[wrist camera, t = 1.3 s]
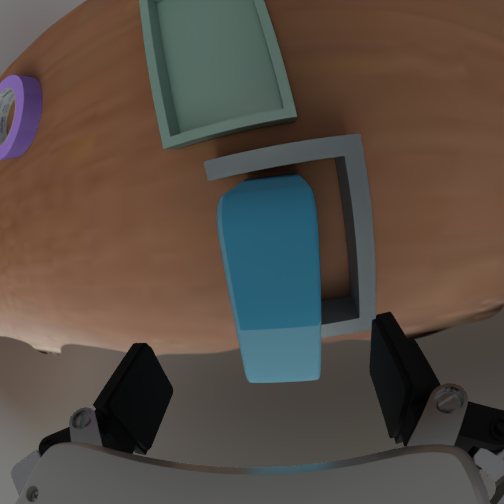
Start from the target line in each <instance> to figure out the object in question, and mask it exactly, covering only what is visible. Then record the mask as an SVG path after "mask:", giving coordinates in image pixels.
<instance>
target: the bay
mask: <svg viewBox="0 0 504 504" xmlns="http://www.w3.org/2000/svg"><path fill="white" fill-rule="evenodd" d="M333 157H335V162H336V168H337V174H338V180H339V186H340V193H341V200H342V207H343V215H344V223H345V232H346V241H347V251H348V263H349V276H350V293H351V296H348V297H342V298H336V299H330V300H324V301H321V338H326V337H332V336H338V335H344V334H349V333H354V332H360V331H365V330H370V329H372V320H373V319H376V268H375V246H374V231H373V219H372V208H371V199H370V191H369V183H368V176H367V169H366V163H365V156H364V151H363V145H362V140H361V135H360V134H350V135H341V136H333V137H325V138H318V139H311V140H305V141H298V142H292V143H286V144H281V145H275V146H270V147H265V148H260V149H255V150H250V151H246V152H241V153H237V154H232V155H228V156H224V157H220V158H216V159H212V160H208V161H204V166H205V170H206V174H207V179H208V181H211V180H215V179H219V178H224V177H228V176H233V175H237V174H242V173H247V172H251V171H256V170H261V169H266V168H272V167H277V166H283V165H288V164H294V163H300V162H306V161H312V160H319V159H326V158H333Z"/></svg>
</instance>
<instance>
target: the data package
mask: <svg viewBox="0 0 504 504" xmlns="http://www.w3.org/2000/svg"><path fill="white" fill-rule="evenodd" d="M217 228H218V235H219V241H220V247H221V252H222V258H223V264H224V269H225V275H226V280H227V285H228V291H229V296H230V301H231V306H232V311H233V316H234V321H235V326H236V331H237V336H238V341H239V346H240V351H241V355H242V360H243V365H244V369H245V374H246V377H247V379H248V381H249V382H251V383H269V382H270V383H271V382H293V381H308V380H317V379H318V378H319V377H320V370H321V369H320V368H321V277H320V252H319V234H318V220H317V211H316V204H315V198H314V194H313V191H312V189H311V187H310V186H309V185H308V184H307V183H306V181H305V180H304V179H303V178H302V177H301V176H300V175H299V174H288V175H278V176H269V177H260V178H252V179H246V180H244V181H243V182H241V183H240V184H238V185H237V186H235V187H234V188H232V189H231V190H230V191H228V192H227V193H225V194H224V195H222V196H221V198H220V199H219V202H218V207H217Z"/></svg>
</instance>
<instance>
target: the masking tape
mask: <svg viewBox="0 0 504 504" xmlns="http://www.w3.org/2000/svg"><path fill="white" fill-rule="evenodd" d="M14 99H15V113H14V118H13V122H12V126H11V129H10V131H9V134H7V118H8V113H9V110H10V107H11V105H12V103H13V101H14ZM41 112H42V90H41V86H40V84H39V82H38V80H37V79H36V78H34V77H29V76H21V75H10V76H8V77H7V78H5V79H4V80H3V81H2V82H1V83H0V160H4V159H10V158H16V157H19V156H21V155H23V154H24V153H25V152H26V151H27V149H28V148H29V146H30V145H31V143H32V141H33V139H34V137H35V134H36V132H37V129H38V126H39V122H40V117H41Z"/></svg>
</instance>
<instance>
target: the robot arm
mask: <svg viewBox="0 0 504 504" xmlns="http://www.w3.org/2000/svg"><path fill="white" fill-rule="evenodd" d="M370 375H371V378H372V381H373V384H374V387H375V390H376V393H377V396H378V400H379V403H380V406H381V410H382V413H383V416H384V419H385V423H386V426H387V430H388V434H389V437H390V438H395V442H396V444H398V443H401V442H403V444H404V446H405V447H404V448H398V449H393V450H388V451H384V452H379V453H374V454H370V455H364V456H359V457H355V458H349V459H343V460H337V461H330V462H323V463H316V464H308V465H297V466H285V467H257V468H256V467H255V468H253V467H252V468H251V467H248V468H247V467H244V468H243V467H218V466H204V465H194V464H186V463H178V462H171V461H165V460H159V459H153V458H148V457H143V456H139V455H134V454H132V453H133V451H134V452H136V453H138V454H143V455H146V453H147V451H148V450H149V449H150V448H151V447H152V444H153V441H154V439H155V436H156V434H157V431H158V429H159V426H160V424H161V421H162V419H163V416H164V414H165V412H166V409H167V407H168V404H169V402H170V399H171V397H172V394H173V387H172V385H171V384H170V382H169V380H168V378H167V376H166V375H165V373H164V371H163V369H162V367H161V365H160V363H159V361H158V360H157V358H156V356H155V354H154V352H153V350H152V348H151V347H150V346H148V344H146V343H134V344H133V345H132V346H131V348H130V349H129V351H128V352H127V354H126V355H125V357H124V358H123V360H122V361H121V363H120V364H119V366H118V367H117V369H116V370H115V372H114V373H113V375H112V376H111V378H110V379H109V381H108V382H107V384H106V385H105V387H104V389H103V390H102V391H101V393H100V395H99V396H98V398H97V399H96V401H95V402H94V404H93V406H94V407H95V408H96V410H95V411H94V410H92V409H91V408H81V409H79V410H77V411H76V412H75V413H73V415H72V416H71V418H70V421H69V427H68V428H66V429H63V430H61V431H59V432H56V433H54V434H51V435H49V436H47V437H45V438H44V439H43V440H42V441H41V443H40V445H39V451H38V450H35V451H34V452H32V453H31V454H30V455H28V456H27V457H25V458H24V459H23V460H21V461H20V462H19V463H17V464H16V465H15V466H14V467H13V469H12V472H11V475H12V479H13V481H14V484H15V486H16V489H17V491H18V494H19V498H18V500H17V502H16V504H504V410H499V409H495V408H491V407H488V406H483V405H480V404H476V403H473V402H469V401H468V395H467V393H466V391H465V390H464V389H463V388H462V387H461V386H459V385H456V384H451V383H447V384H443V385H440V383H439V381H438V379H437V377H436V375H435V374H434V372H433V370H432V368H431V366H430V365H429V363H428V361H427V360H426V358H425V356H424V354H423V353H422V351H421V349H420V347H419V346H418V344H417V343H416V341H415V340H414V339H410V340H407V338H406V336H405V335H404V333H403V331H402V329H401V328H400V326H399V324H398V323H397V321H396V319H395V318H394V316H393V315H392V313H391V312H387V313H382V314H378V315H377V316H376V319H373V320H372V334H371V353H370ZM480 469H484V470H485V471H486V472H488V473H489V474H488V476H489V477H490V478H492V479H493V481H494V482H495V484H496V489H495V494H494V495H493V497H492V498H491V500H490V499H489V496H488V492H487V489H486V486H485V483H484V481H483V478H482V476H481V474H480V471H479V470H480Z"/></svg>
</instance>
